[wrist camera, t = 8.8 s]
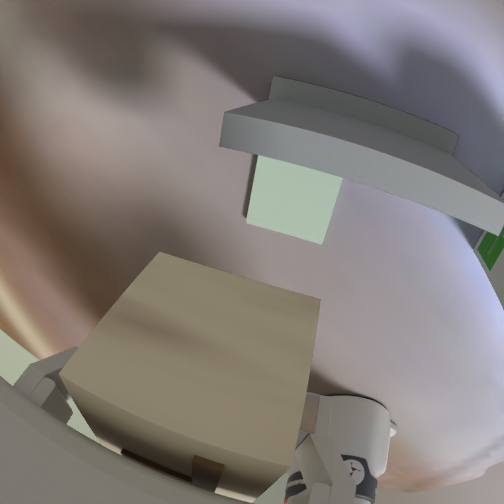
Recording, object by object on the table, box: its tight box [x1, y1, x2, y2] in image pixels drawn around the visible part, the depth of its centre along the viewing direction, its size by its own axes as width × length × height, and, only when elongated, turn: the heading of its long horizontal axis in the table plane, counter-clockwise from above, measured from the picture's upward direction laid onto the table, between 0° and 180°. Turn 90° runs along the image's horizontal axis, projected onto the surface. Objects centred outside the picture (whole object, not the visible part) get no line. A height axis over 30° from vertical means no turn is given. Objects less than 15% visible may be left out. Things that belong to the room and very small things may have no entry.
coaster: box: [246, 155, 343, 245], centre depth 26 cm, size 7×7×1 cm
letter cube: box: [59, 252, 321, 503], centre depth 10 cm, size 6×6×6 cm
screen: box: [219, 76, 504, 236], centre depth 17 cm, size 5×15×12 cm, turn 80°
